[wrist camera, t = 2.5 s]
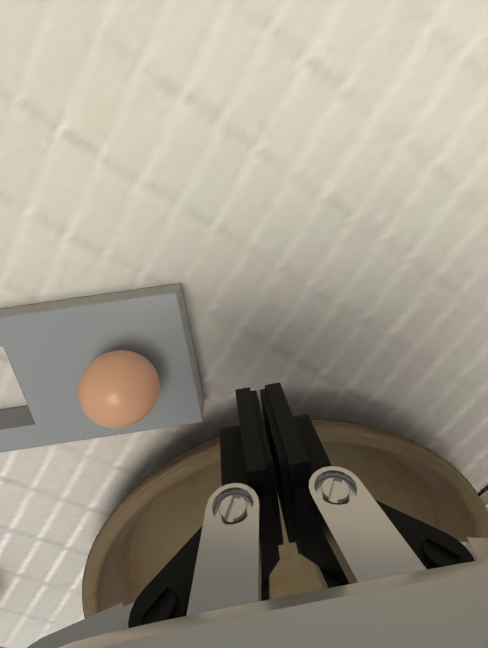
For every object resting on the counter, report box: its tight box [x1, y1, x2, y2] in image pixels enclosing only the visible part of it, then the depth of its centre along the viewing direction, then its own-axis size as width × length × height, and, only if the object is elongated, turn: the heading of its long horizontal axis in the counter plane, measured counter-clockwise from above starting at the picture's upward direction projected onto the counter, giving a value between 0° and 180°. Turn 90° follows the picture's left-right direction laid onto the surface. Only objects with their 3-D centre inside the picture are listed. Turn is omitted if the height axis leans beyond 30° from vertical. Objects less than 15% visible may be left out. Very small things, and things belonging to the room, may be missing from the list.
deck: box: [0, 283, 204, 452], centre depth 20 cm, size 8×16×2 cm, turn 97°
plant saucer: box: [82, 420, 488, 619], centre depth 26 cm, size 31×31×5 cm
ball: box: [78, 350, 160, 428], centre depth 17 cm, size 4×4×4 cm
